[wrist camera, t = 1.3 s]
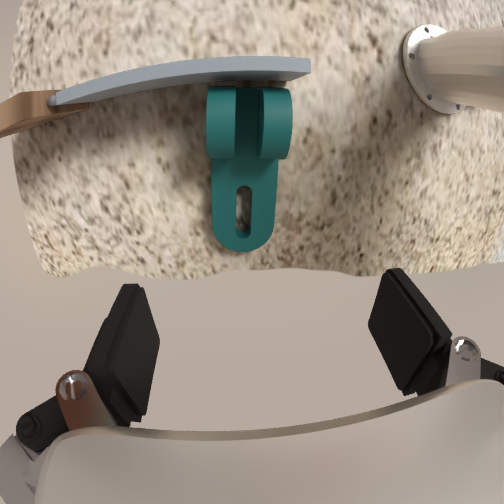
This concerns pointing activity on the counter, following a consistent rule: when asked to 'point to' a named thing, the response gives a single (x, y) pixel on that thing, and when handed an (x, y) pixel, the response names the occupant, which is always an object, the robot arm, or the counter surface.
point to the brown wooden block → (32, 111)
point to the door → (184, 76)
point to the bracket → (246, 158)
